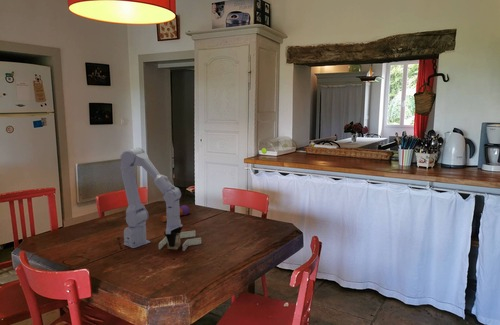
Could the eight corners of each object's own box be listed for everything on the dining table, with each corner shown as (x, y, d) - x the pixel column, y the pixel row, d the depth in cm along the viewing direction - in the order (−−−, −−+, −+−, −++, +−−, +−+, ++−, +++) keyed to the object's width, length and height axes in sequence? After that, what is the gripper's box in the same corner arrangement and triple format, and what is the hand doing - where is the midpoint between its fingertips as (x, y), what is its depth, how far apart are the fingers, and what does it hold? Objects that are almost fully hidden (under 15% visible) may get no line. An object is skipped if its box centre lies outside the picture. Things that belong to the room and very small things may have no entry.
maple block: (177, 249, 161) (176, 236, 160) (167, 249, 162) (167, 236, 161) (180, 245, 165) (180, 233, 164) (171, 245, 166) (170, 232, 165)
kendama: (158, 214, 202) (183, 204, 218) (160, 224, 202) (185, 213, 219) (165, 214, 198) (190, 203, 215) (167, 224, 199) (192, 213, 215)
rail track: (174, 255, 155) (173, 248, 154) (149, 246, 165) (149, 240, 164) (210, 240, 172) (210, 234, 172) (186, 233, 182) (185, 227, 182)
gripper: (176, 220, 154) (177, 250, 156) (186, 210, 168) (187, 239, 170) (160, 219, 155) (161, 250, 157) (172, 210, 169) (173, 238, 171)
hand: (174, 244), depth 163 cm, fingers open, 5 cm apart
